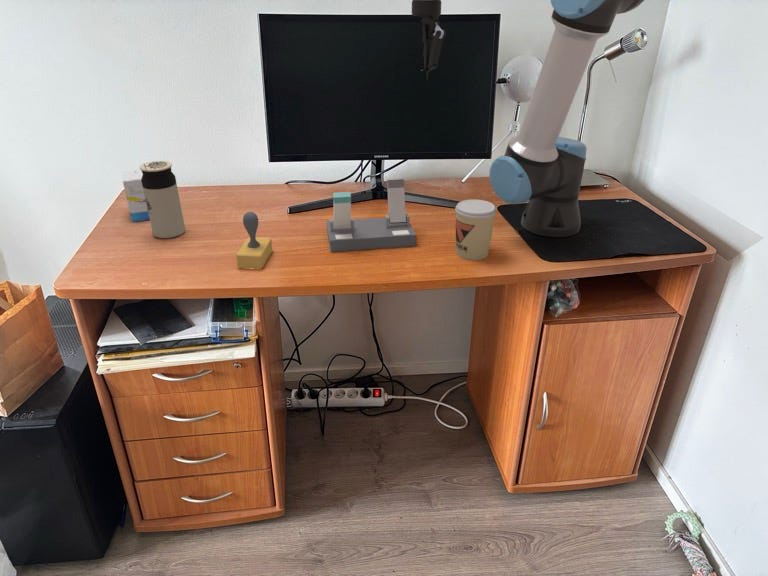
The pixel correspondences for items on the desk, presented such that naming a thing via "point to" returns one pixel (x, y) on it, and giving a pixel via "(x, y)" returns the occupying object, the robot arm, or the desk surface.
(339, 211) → the cream paddle
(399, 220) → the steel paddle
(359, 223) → the control panel
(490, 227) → the coffee cup
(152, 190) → the travel mug
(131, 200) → the ink box
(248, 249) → the rubber stamp
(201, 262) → the desk surface
